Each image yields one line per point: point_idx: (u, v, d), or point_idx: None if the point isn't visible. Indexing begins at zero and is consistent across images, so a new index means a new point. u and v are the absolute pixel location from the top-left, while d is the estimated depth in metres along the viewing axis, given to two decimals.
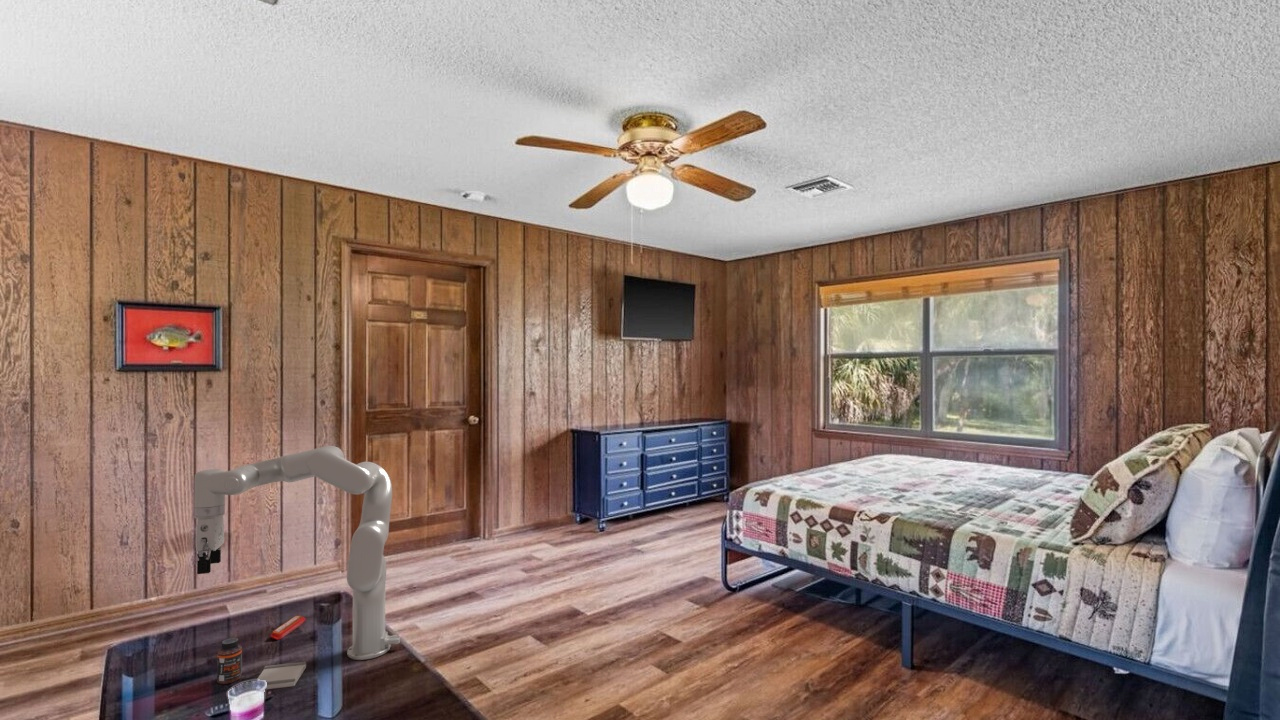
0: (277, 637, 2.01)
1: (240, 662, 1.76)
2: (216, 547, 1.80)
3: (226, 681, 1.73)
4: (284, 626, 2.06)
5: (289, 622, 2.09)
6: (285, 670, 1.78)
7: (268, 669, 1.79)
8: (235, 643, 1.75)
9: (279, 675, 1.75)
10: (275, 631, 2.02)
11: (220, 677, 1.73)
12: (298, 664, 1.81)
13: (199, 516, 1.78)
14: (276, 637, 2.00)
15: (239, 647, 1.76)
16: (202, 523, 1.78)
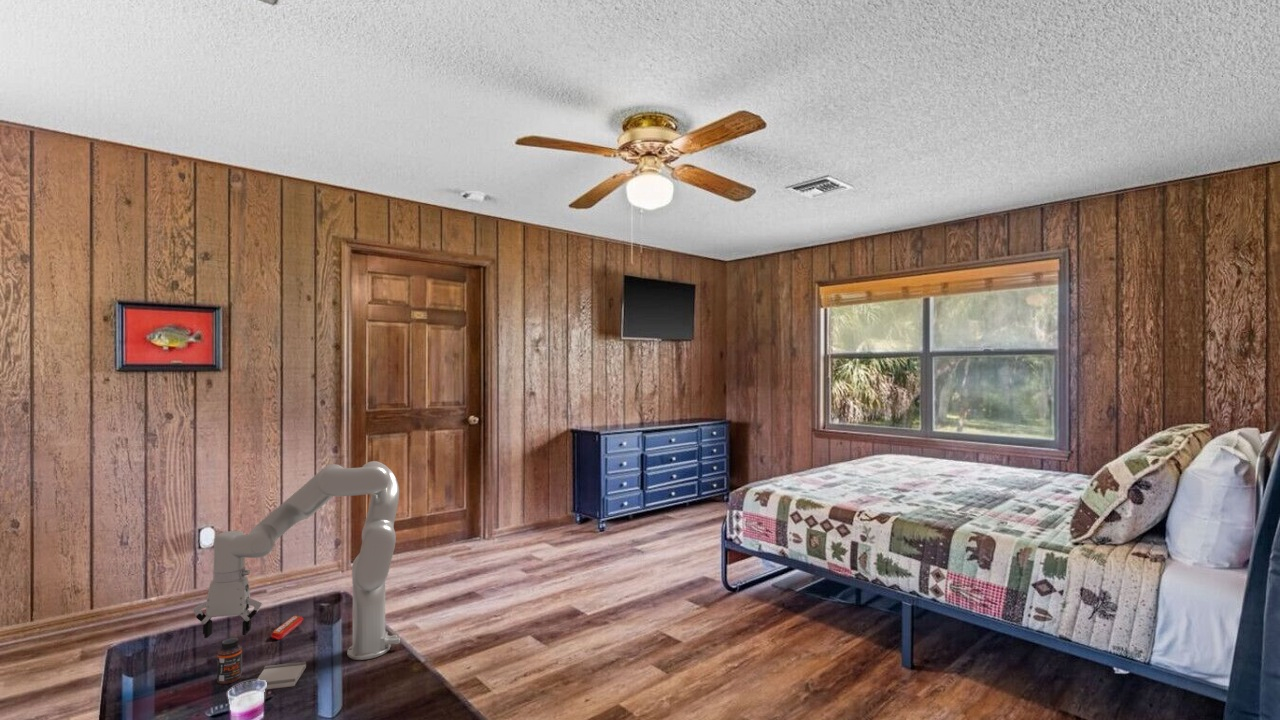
0: (278, 637, 2.01)
1: (240, 662, 1.76)
2: None
3: (226, 681, 1.73)
4: (283, 626, 2.06)
5: (288, 622, 2.09)
6: (285, 670, 1.78)
7: (268, 669, 1.79)
8: (235, 643, 1.75)
9: (279, 675, 1.75)
10: (275, 631, 2.02)
11: (220, 677, 1.73)
12: (298, 664, 1.81)
13: (239, 578, 1.75)
14: (277, 637, 2.00)
15: (239, 647, 1.76)
16: (245, 583, 1.76)
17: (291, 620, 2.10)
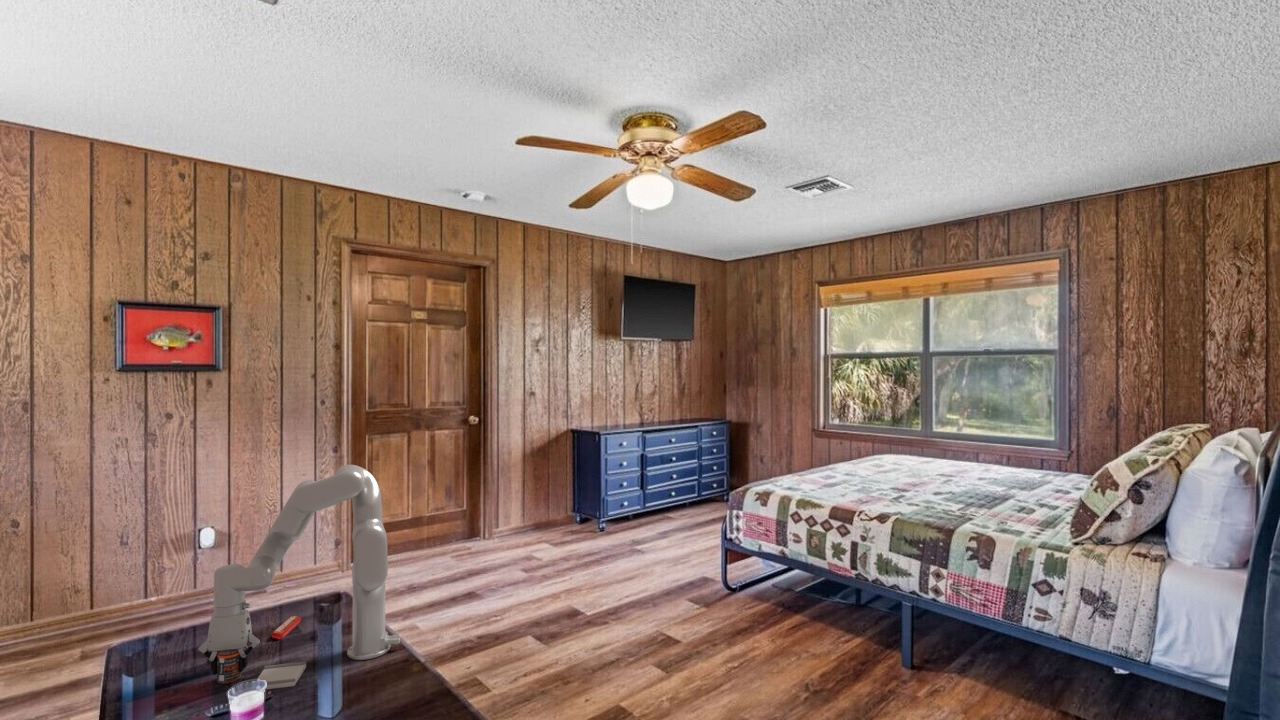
0: (279, 637, 2.01)
1: None
2: None
3: (226, 681, 1.73)
4: (283, 626, 2.06)
5: (287, 622, 2.09)
6: (285, 670, 1.78)
7: (268, 669, 1.79)
8: None
9: (279, 675, 1.75)
10: (276, 631, 2.02)
11: (220, 677, 1.73)
12: (298, 664, 1.81)
13: (240, 612, 1.75)
14: (278, 637, 2.01)
15: None
16: (246, 616, 1.76)
17: (290, 620, 2.10)
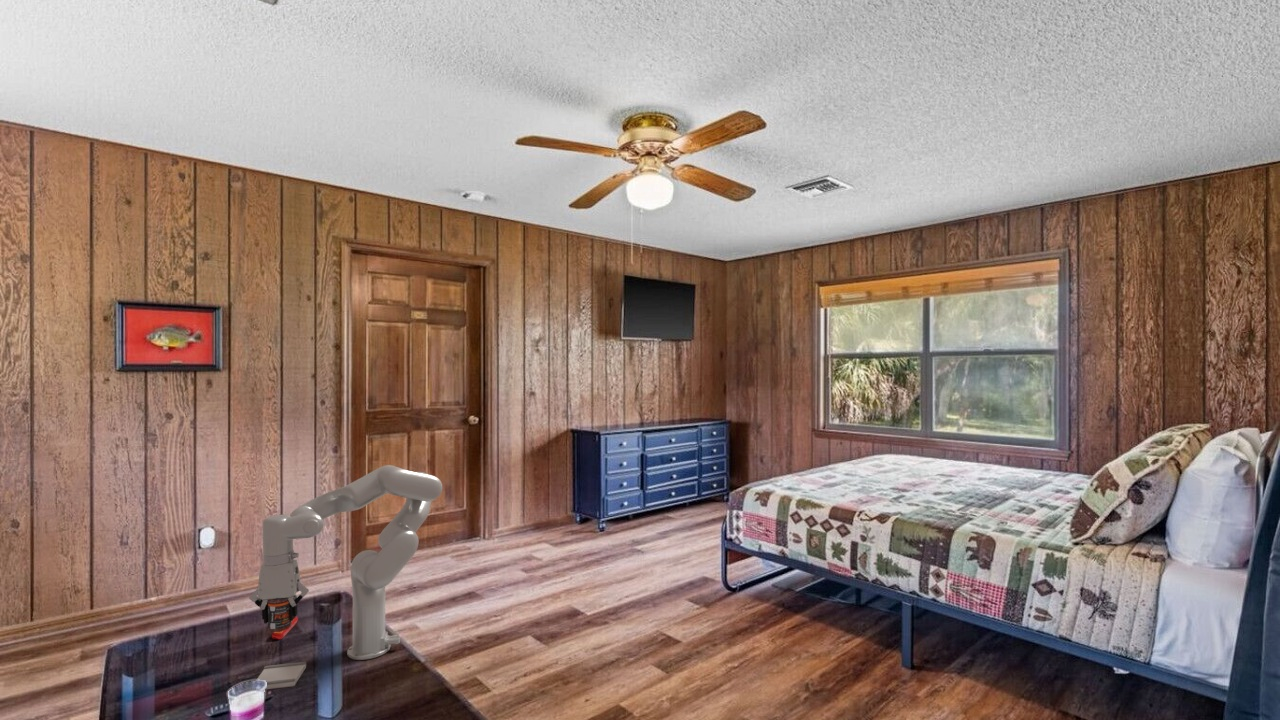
0: (279, 637, 2.01)
1: None
2: None
3: (277, 629, 1.74)
4: None
5: None
6: (285, 670, 1.78)
7: (268, 669, 1.79)
8: None
9: (279, 675, 1.75)
10: None
11: (271, 625, 1.73)
12: (298, 664, 1.81)
13: (289, 561, 1.75)
14: (278, 637, 2.01)
15: None
16: (295, 566, 1.77)
17: None
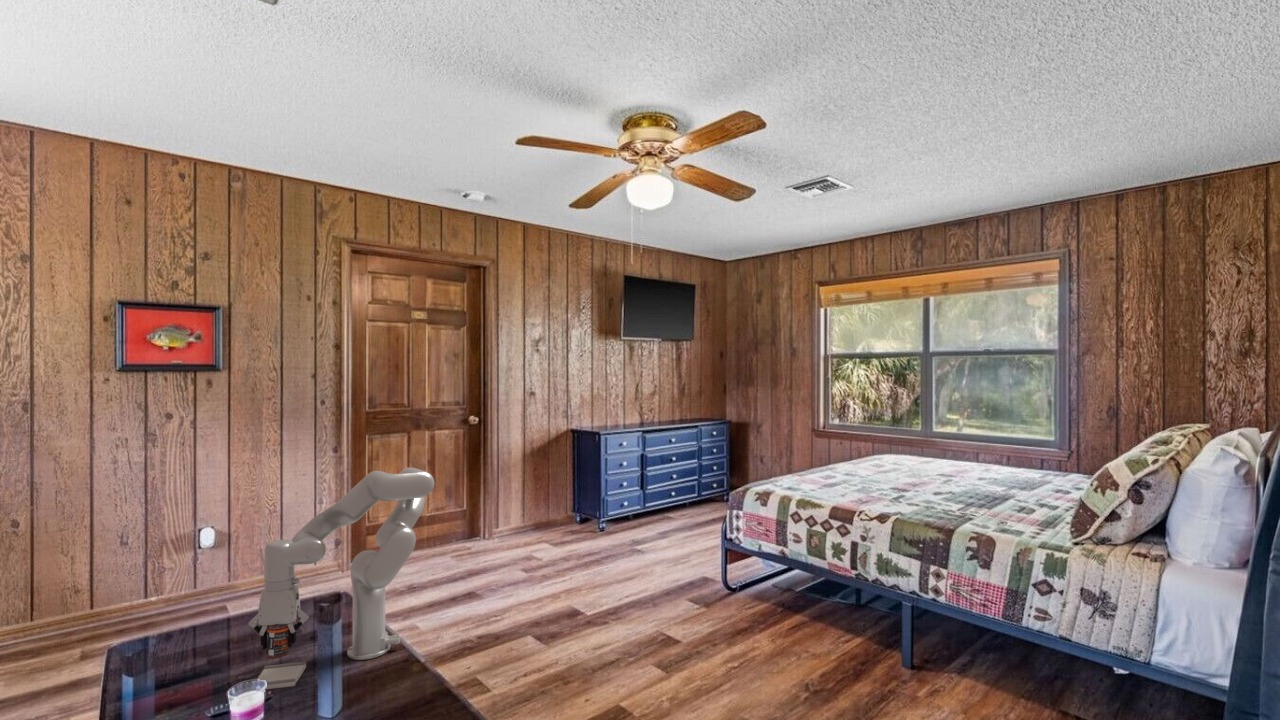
0: None
1: None
2: None
3: (276, 656, 1.73)
4: None
5: None
6: (285, 670, 1.78)
7: (268, 669, 1.79)
8: None
9: (279, 675, 1.75)
10: None
11: (270, 652, 1.73)
12: (298, 664, 1.81)
13: (290, 587, 1.75)
14: None
15: None
16: (296, 592, 1.77)
17: None
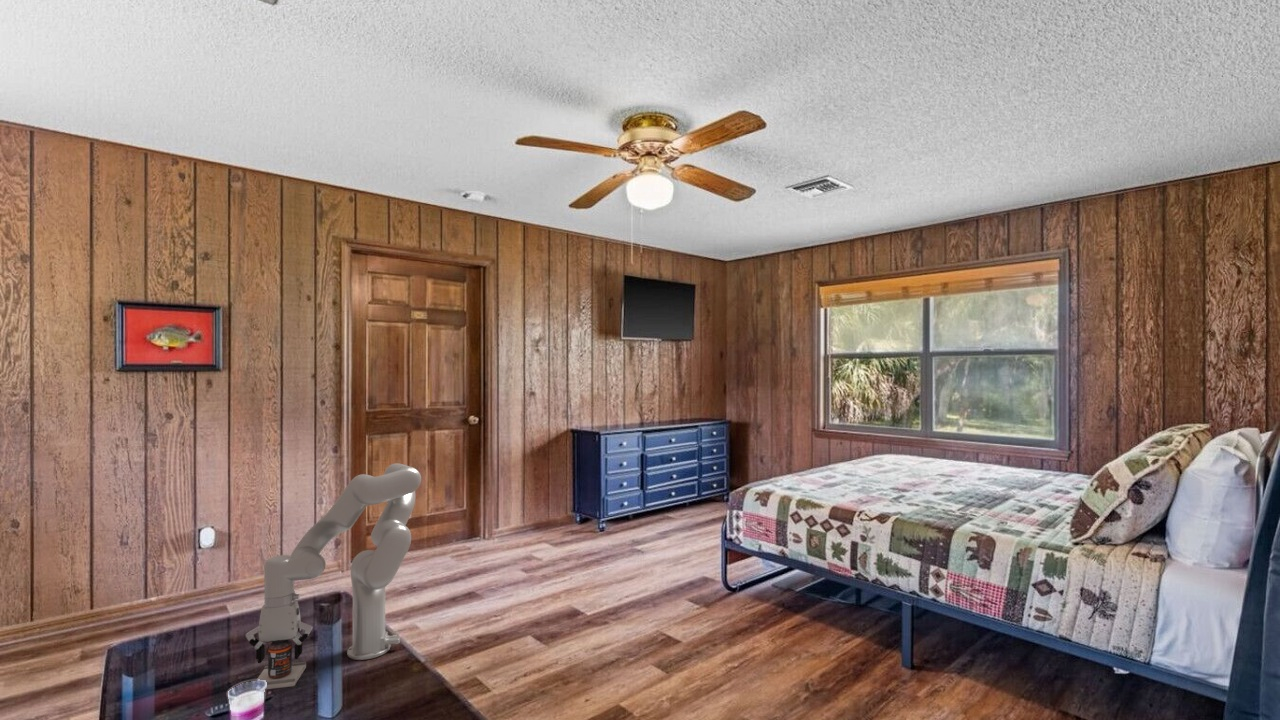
0: None
1: (290, 657, 1.76)
2: None
3: (277, 676, 1.73)
4: None
5: None
6: None
7: None
8: None
9: None
10: None
11: (271, 672, 1.73)
12: (298, 664, 1.81)
13: (290, 603, 1.75)
14: None
15: (289, 642, 1.77)
16: (296, 607, 1.77)
17: None
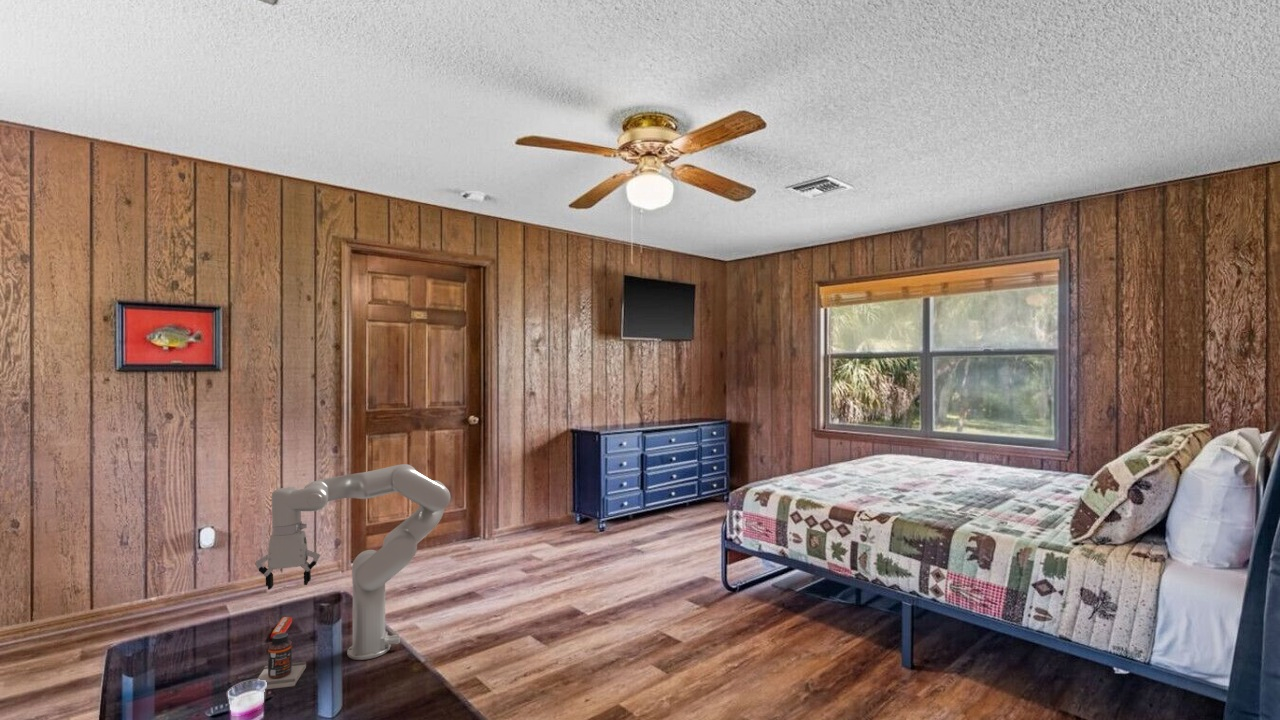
0: None
1: (290, 657, 1.76)
2: None
3: (277, 676, 1.73)
4: (280, 626, 2.05)
5: (282, 623, 2.08)
6: None
7: None
8: (285, 638, 1.76)
9: None
10: (275, 632, 2.01)
11: (271, 672, 1.73)
12: (298, 664, 1.81)
13: (298, 531, 1.82)
14: None
15: (289, 642, 1.77)
16: (303, 536, 1.84)
17: (283, 621, 2.10)
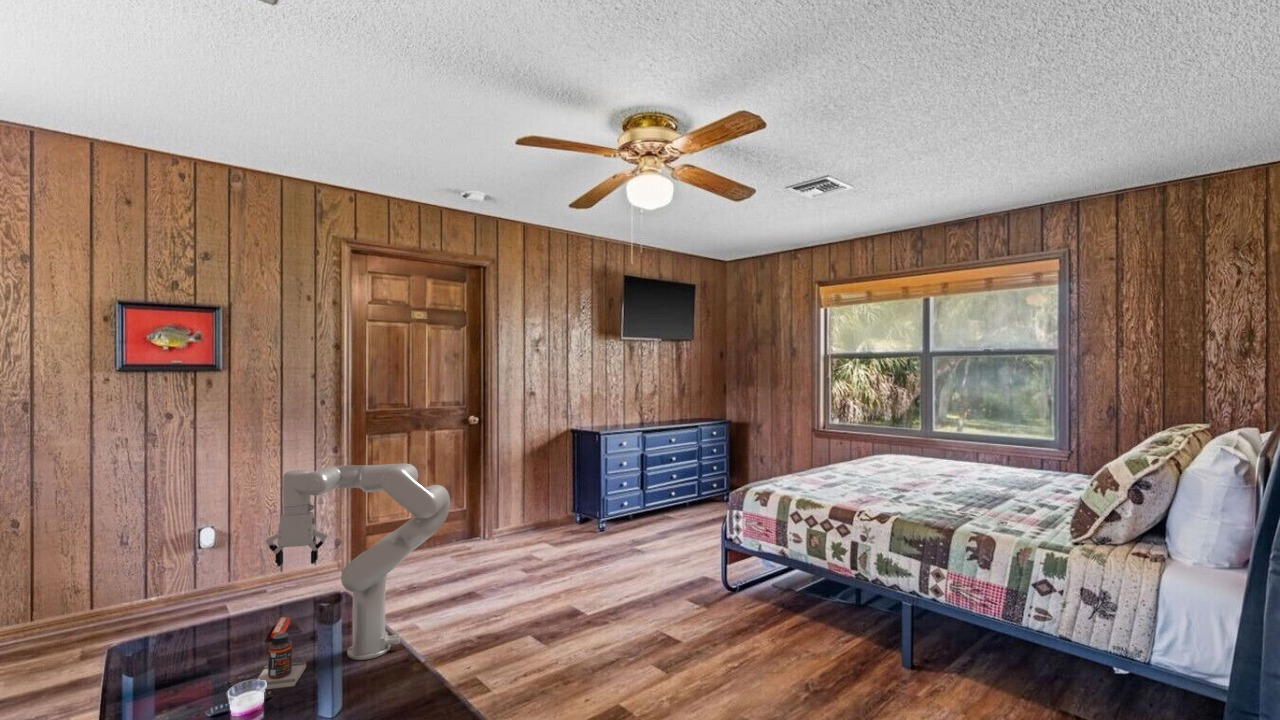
0: None
1: (290, 657, 1.76)
2: None
3: (277, 676, 1.73)
4: (279, 626, 2.05)
5: (281, 623, 2.08)
6: None
7: None
8: (286, 638, 1.76)
9: None
10: (275, 632, 2.01)
11: (271, 672, 1.73)
12: (298, 664, 1.81)
13: (307, 512, 1.91)
14: None
15: (289, 642, 1.77)
16: (312, 517, 1.92)
17: (282, 621, 2.10)
